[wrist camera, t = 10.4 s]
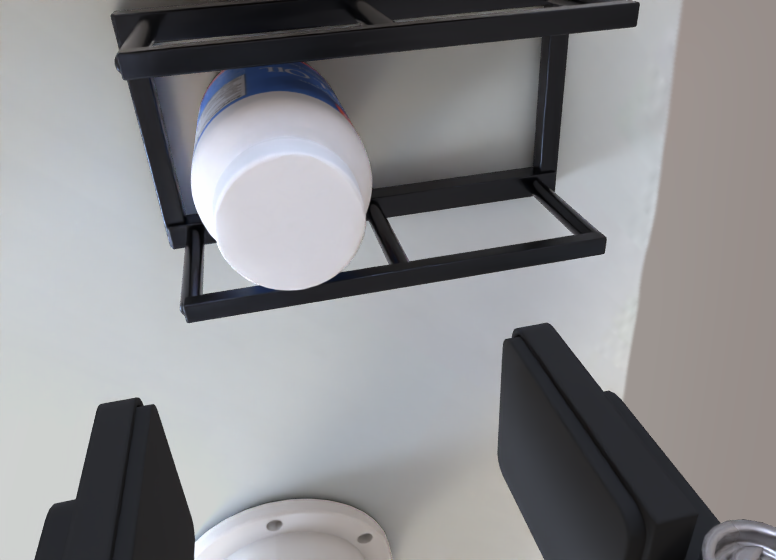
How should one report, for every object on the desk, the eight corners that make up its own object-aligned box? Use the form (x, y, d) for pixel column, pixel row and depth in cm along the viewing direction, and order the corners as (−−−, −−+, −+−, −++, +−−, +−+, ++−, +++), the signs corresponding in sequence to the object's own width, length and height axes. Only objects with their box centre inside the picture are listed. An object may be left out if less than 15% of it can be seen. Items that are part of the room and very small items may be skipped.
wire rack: (547, 184, 29) (627, 254, 24) (171, 239, 27) (159, 332, 21) (565, -29, 25) (669, -7, 19) (112, 11, 22) (76, 51, 16)
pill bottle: (367, 109, 26) (437, 209, 18) (284, 210, 27) (314, 346, 19) (253, 15, 23) (272, 81, 15) (168, 132, 24) (144, 251, 16)
